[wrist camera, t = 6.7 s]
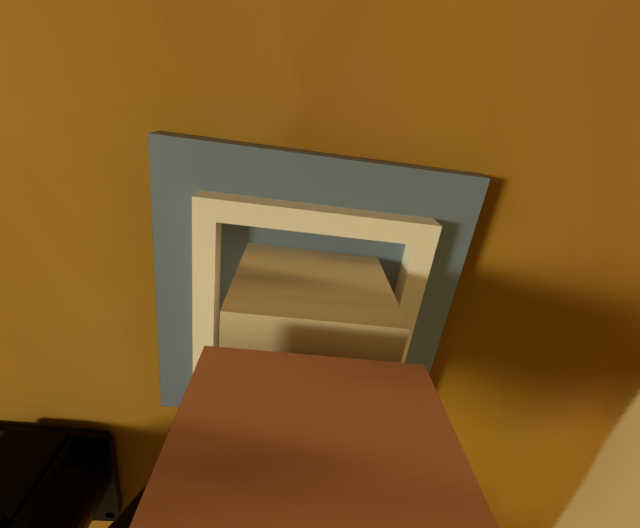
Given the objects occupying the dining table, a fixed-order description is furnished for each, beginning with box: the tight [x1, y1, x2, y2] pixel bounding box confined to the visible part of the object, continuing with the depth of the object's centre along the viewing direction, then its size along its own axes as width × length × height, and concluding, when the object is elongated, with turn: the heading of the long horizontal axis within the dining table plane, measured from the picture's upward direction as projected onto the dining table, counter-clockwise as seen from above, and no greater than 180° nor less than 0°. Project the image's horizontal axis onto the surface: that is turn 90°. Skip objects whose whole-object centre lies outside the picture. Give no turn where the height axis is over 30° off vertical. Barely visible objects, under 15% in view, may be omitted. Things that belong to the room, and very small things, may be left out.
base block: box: [219, 243, 410, 363], centre depth 13 cm, size 5×5×5 cm
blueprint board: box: [148, 131, 491, 407], centre depth 15 cm, size 12×12×2 cm
